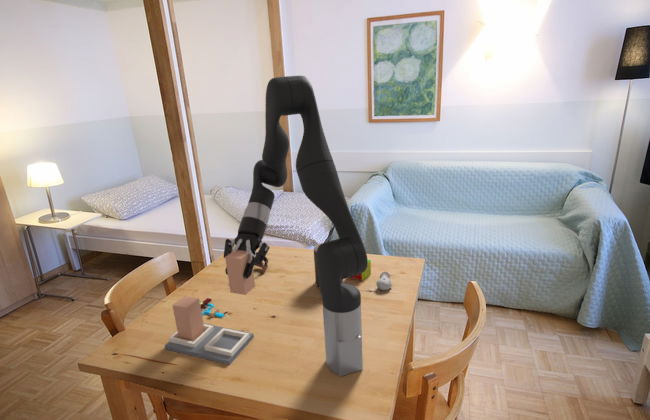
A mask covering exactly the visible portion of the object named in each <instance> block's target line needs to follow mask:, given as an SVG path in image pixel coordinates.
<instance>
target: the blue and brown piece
mask: <svg viewBox="0 0 650 420" xmlns="http://www.w3.org/2000/svg"><path fill="white" fill-rule="evenodd" d="M199 301H200V300H199ZM211 302H212V298H209V297H207V298H205V299H204V300H203V301H200V307H201V313H202V317H203V316H204V315H209V317H211V318H214V317H217V318H218V317H219V318H221V319H222V318H224V317H225V315H226V314H225V313H221V312H220V309H219V308H214V307H215V305H214V304H213V303H211ZM204 308H205V309H204ZM213 308H214V309H213Z"/></svg>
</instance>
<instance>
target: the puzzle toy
mask: <svg viewBox="0 0 650 420" xmlns="http://www.w3.org/2000/svg"><path fill="white" fill-rule="evenodd" d="M367 260H368V265H367V269H366V270H365V271H364V272H363V273H361V274H358V275H355V276H352V277H351V278H352V279H356V280H359V281H361V282H362V281H363V280H365V279H367V277H369V276H371V275H372V267H371V264H372V263H371V262H372V261H371V259H368V258H367Z"/></svg>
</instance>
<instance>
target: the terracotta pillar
mask: <svg viewBox="0 0 650 420" xmlns="http://www.w3.org/2000/svg"><path fill="white" fill-rule="evenodd" d="M248 254H249V253H247V251H242V250H237V251H233V252H232V253H230V254H229V255H227V256H226V257H225V258H224V259H225V265H226V267H227V272H228V275H227V279H228V285H229V290H230V293H232V294H237V295H242V296H246V295H248V294H249V293H250V292H251V291H252V290H253V289H254V288H255V287H256V282H255V275H254V274H255V273H254V269H253V270H252V273H251V276H250V277H249V278H248V279H247V278H244V277H243V273H244V270H245V267H246V264H248V257H249V255H248Z"/></svg>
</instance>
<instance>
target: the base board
mask: <svg viewBox="0 0 650 420" xmlns="http://www.w3.org/2000/svg"><path fill="white" fill-rule="evenodd" d="M171 305H172V310H173V316H174V320H175V324H176V325H175V326H176V330H177V331H175V333H173V334H172V335H171V336H169V337H168V342H167V343H166V344H165V345H164V350H168V351H172V352H176V353H180V354H184V355H187V356H193V357H195V358H200V359H205V360H208V361H212V362H216V363H221V364H223V365H224V364H225V365H228V366H230V365H232V363H233V362H234V361H235V359H236V358H237V357H238V356H239V355H240V354H241V352H242V351H243V350H244V349H245V348H246V347H247V346H248V345H249V343H250V342H251V341H252V340H253V339H254V338H255V336H254V333H252V332H247V331H242V330H239V329H233V328H227V327H223V326H219V325H213V324H209V323H204V320H203V316H202V313H201V307H200V298H199V297H194V296H187V295H184V296H182V297H181V298H180V299H178V300H176V302H174V303H173V304H171Z"/></svg>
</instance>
